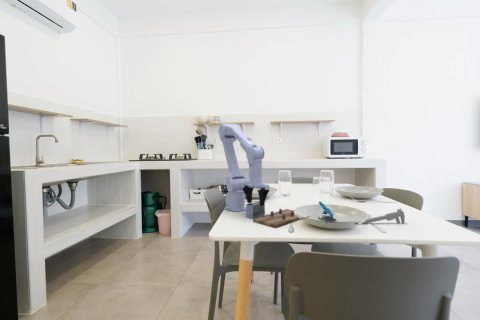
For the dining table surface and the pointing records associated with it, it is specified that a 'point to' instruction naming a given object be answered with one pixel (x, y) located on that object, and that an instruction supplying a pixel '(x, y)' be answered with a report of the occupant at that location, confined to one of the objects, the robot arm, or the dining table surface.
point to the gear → (325, 209)
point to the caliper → (388, 217)
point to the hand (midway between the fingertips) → (255, 204)
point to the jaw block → (255, 210)
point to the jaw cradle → (277, 218)
